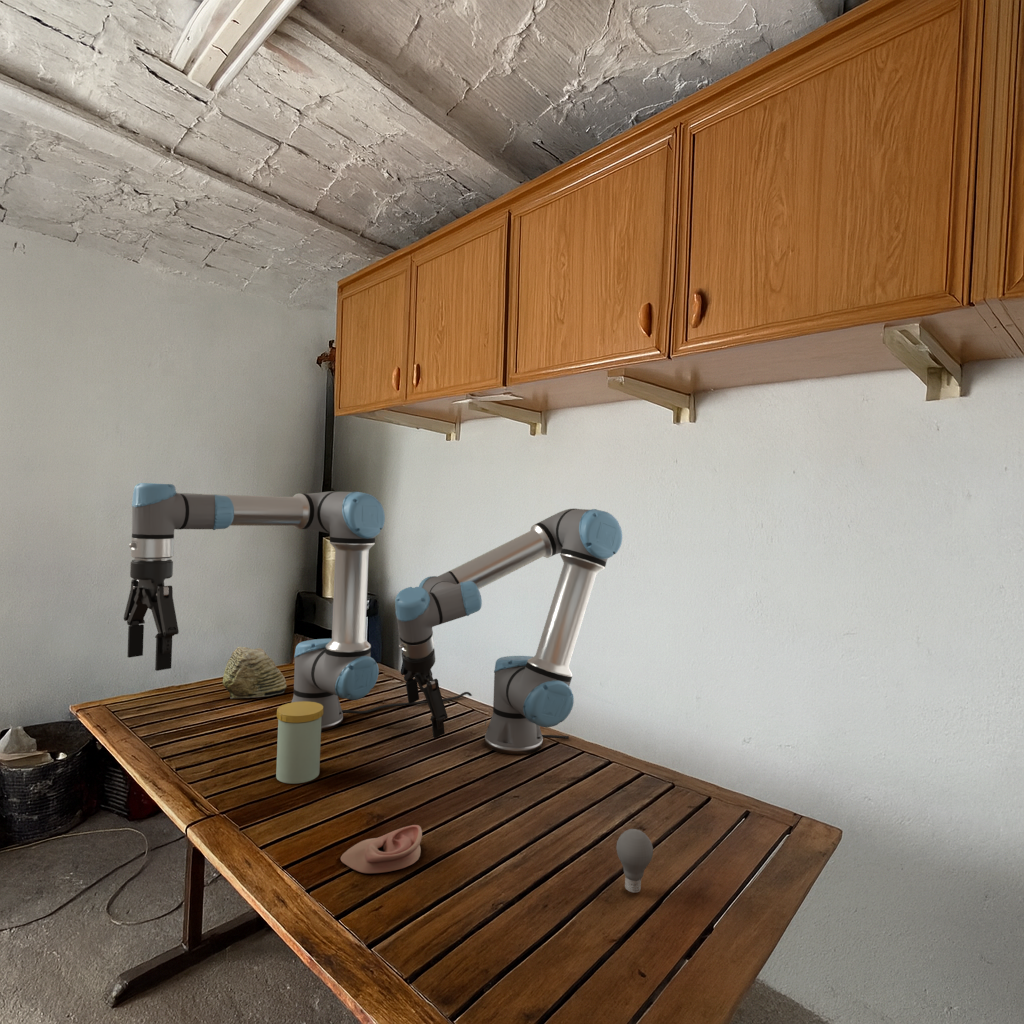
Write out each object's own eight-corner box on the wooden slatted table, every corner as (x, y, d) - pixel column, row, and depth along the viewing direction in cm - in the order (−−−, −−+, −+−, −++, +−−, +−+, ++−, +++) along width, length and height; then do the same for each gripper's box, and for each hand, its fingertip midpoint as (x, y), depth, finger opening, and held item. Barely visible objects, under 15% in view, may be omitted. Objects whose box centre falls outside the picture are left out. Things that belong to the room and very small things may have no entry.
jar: (288, 764, 149) (291, 702, 149) (326, 768, 148) (328, 705, 147) (268, 781, 140) (270, 715, 140) (307, 785, 139) (310, 719, 138)
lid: (290, 706, 149) (290, 699, 149) (330, 710, 148) (331, 703, 148) (267, 720, 139) (268, 713, 139) (311, 724, 138) (311, 717, 138)
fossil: (218, 695, 195) (220, 647, 195) (278, 685, 208) (279, 640, 207) (228, 703, 189) (230, 653, 188) (289, 692, 201) (290, 645, 201)
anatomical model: (332, 845, 108) (361, 813, 119) (331, 868, 108) (361, 834, 119) (406, 857, 105) (428, 823, 117) (405, 880, 106) (428, 844, 117)
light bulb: (610, 879, 108) (613, 822, 108) (644, 879, 109) (647, 822, 109) (619, 902, 102) (622, 840, 102) (655, 901, 103) (658, 840, 103)
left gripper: (108, 554, 134) (104, 654, 134) (159, 565, 118) (155, 678, 119) (146, 552, 140) (143, 648, 140) (199, 563, 124) (195, 671, 124)
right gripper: (380, 627, 153) (390, 693, 163) (427, 688, 134) (435, 758, 144) (409, 616, 156) (417, 681, 166) (458, 673, 138) (464, 743, 148)
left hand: (148, 662), depth 129 cm, fingers open, 13 cm apart
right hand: (426, 717), depth 155 cm, fingers open, 13 cm apart
